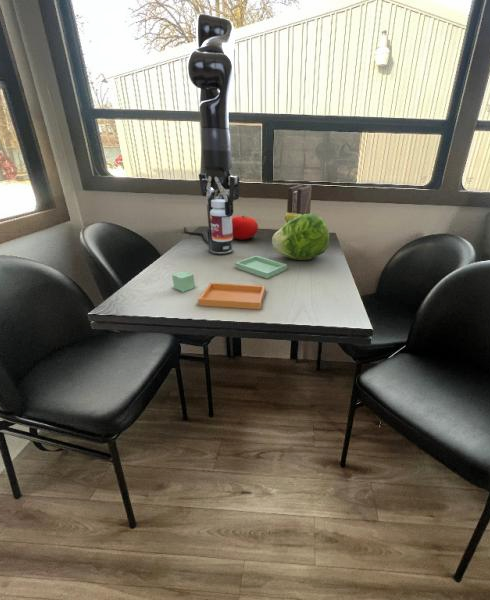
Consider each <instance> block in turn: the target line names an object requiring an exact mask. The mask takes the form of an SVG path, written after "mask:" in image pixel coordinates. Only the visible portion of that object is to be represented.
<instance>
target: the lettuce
mask: <svg viewBox="0 0 490 600" xmlns="http://www.w3.org/2000/svg"><path fill="white" fill-rule="evenodd" d="M271 238H272V239H271V242H272V243H271V244H272V246H273V250H274V251H276V253H277V254H279V255H281V256H283V257H286V258H288V259H291V260H296V261H309V260H311V259H312V260H313V259H314V258H316V257H318V256H320V255H322V254H324V253H325V252H326V250H327V249H328V247H329V244H330V231H329V227H328V225H327V223H326V221H325V220H324V218H322V217H321V216H319V215H317V214H314V213H310V214H304V215H300V216H297V217H295V218H293V219H291V220H290V221H288V222H287V221H286V222H285V223H284V225H282V226H281V228H279V229H278V230H276V232H275V233H274V234H273V235H272V237H271Z"/></svg>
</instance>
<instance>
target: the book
mask: <svg viewBox="0 0 490 600" xmlns="http://www.w3.org/2000/svg"><path fill="white" fill-rule="evenodd" d="M312 191H313V187H312V185H310V184H298V185H294V186H291V187H288V188H287V206H286V207H287V208H286V212H285V213H284V221H286V223H287V222H288V221H290V220H291V219H293V218H295V217H297V216H300V215H304V214H311V205H312V203H311V202H312Z"/></svg>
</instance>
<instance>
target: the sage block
mask: <svg viewBox="0 0 490 600" xmlns="http://www.w3.org/2000/svg"><path fill="white" fill-rule="evenodd" d="M172 283H173V289H175V290H177V291H180V292H182V293H184V292H187V291H189V290H191V289H194V288H196V287H195V278H194V274H193V273H191V272H188V271H186V270H182V271H179V272H177V273H174V274H172Z"/></svg>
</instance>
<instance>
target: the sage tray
mask: <svg viewBox="0 0 490 600" xmlns="http://www.w3.org/2000/svg"><path fill="white" fill-rule="evenodd" d="M234 267H235V269H238V270H241V271H244V272H247V273H249V274H253V275H256V276H259V277H261V278H265V279H269V278H272V277H273V276H276V275H279V274H280V273H282V272H284V271H287V269H288V268H287V267H288V264H286V263H282V262H279V261H276V260H273V259H269V258H266V257H263V256H260V255H253V256H250V257H247V258H244V259H242V260H239V261H235V262H234Z"/></svg>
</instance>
